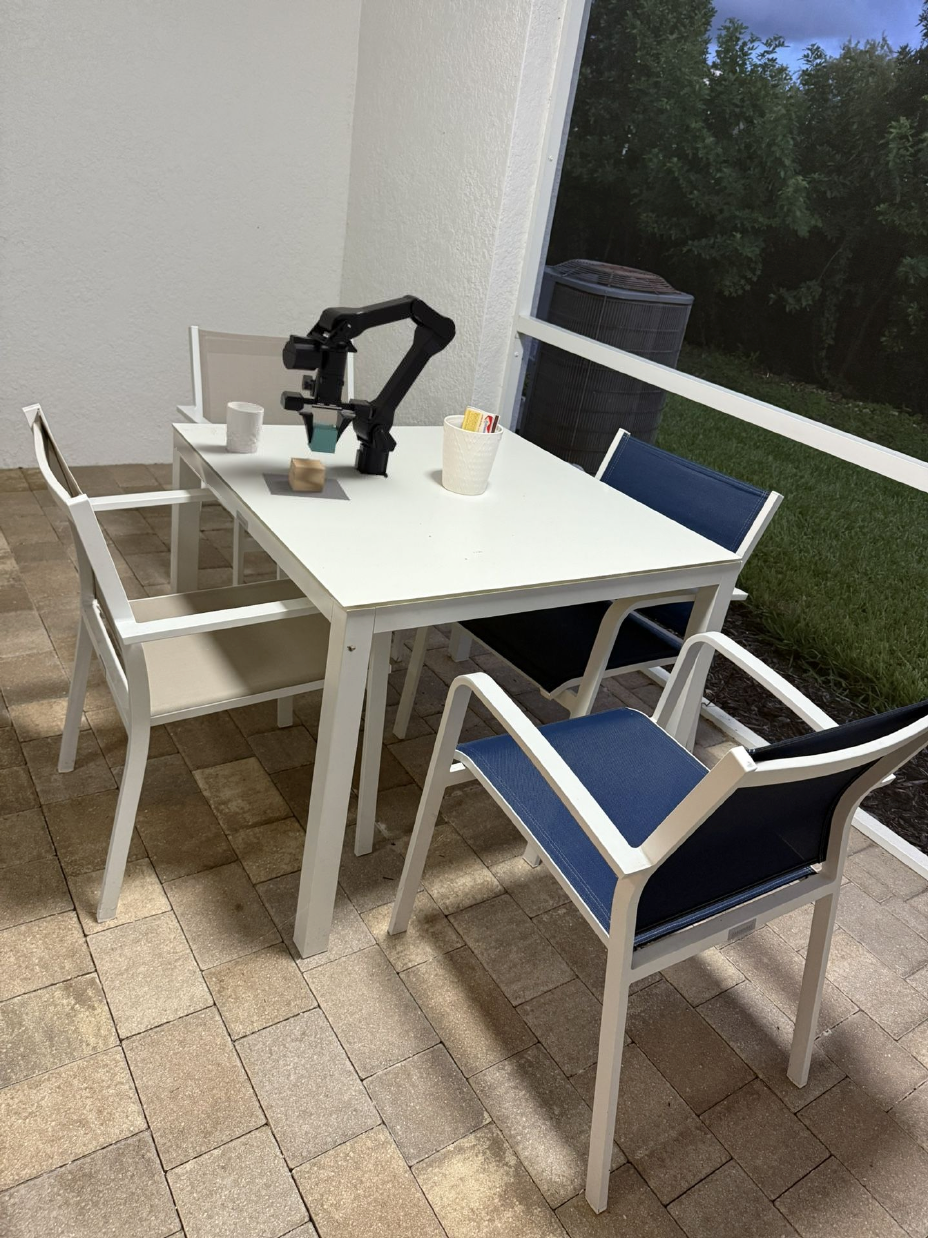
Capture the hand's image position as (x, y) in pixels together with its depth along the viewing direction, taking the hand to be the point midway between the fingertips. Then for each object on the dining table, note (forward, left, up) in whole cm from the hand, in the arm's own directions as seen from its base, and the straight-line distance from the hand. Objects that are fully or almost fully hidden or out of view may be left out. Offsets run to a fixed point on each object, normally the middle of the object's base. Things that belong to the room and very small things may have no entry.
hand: (321, 444), depth 197 cm
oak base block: (+5, +11, -6) cm, 13 cm away
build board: (+5, +11, -7) cm, 14 cm away
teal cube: (0, 0, -1) cm, 1 cm away
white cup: (+15, -12, -7) cm, 20 cm away
